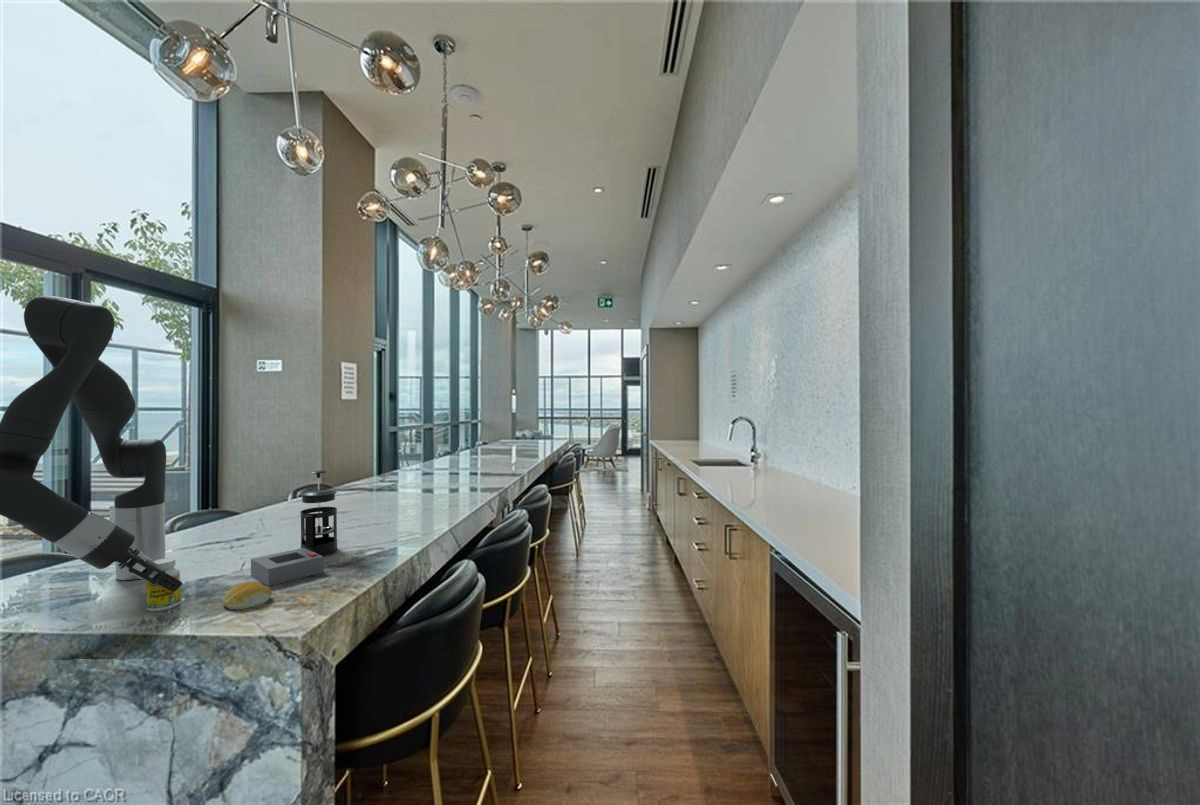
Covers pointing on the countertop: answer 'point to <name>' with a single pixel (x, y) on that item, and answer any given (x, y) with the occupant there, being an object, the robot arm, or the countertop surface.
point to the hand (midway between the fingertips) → (174, 584)
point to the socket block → (286, 566)
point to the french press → (308, 528)
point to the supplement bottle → (158, 594)
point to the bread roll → (246, 595)
